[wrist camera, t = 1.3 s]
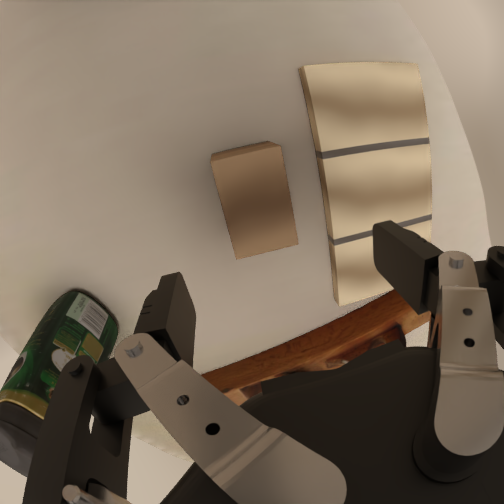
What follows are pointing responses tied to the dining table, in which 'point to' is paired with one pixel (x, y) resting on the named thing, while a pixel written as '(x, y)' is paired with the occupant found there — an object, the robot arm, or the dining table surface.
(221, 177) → the block
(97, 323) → the coffee jar
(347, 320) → the hand plane
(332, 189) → the board
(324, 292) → the dining table surface
